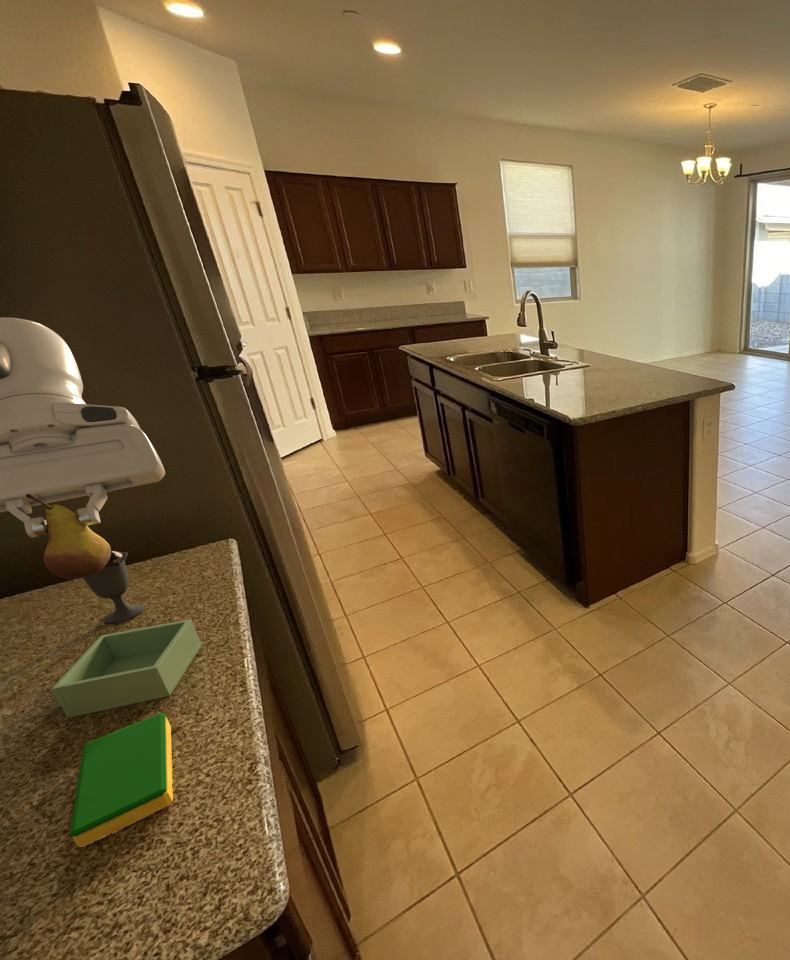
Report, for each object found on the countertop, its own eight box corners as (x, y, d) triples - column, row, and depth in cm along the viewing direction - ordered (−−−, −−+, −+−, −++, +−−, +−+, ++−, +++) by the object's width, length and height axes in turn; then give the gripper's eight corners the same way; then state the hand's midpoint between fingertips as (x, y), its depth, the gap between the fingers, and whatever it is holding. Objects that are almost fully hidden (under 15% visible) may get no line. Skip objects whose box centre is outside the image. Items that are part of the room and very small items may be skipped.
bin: (67, 718, 66) (50, 689, 64) (114, 662, 75) (100, 635, 74) (170, 695, 69) (156, 667, 67) (202, 644, 79) (191, 618, 77)
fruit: (120, 573, 66) (89, 486, 62) (54, 591, 62) (16, 498, 58) (113, 558, 69) (84, 474, 65) (50, 574, 65) (14, 485, 61)
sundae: (100, 611, 86) (60, 532, 81) (153, 597, 90) (118, 520, 84) (92, 632, 82) (49, 549, 76) (148, 616, 85) (111, 536, 79)
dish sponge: (171, 725, 65) (164, 710, 64) (173, 805, 55) (165, 789, 54) (92, 758, 61) (83, 743, 60) (79, 852, 51) (68, 835, 50)
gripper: (-103, 437, 58) (-88, 547, 54) (141, 405, 69) (166, 495, 66) (-68, 463, 63) (-52, 566, 59) (155, 430, 74) (179, 514, 71)
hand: (65, 528), depth 63 cm, fingers closed on fruit, 3 cm apart
